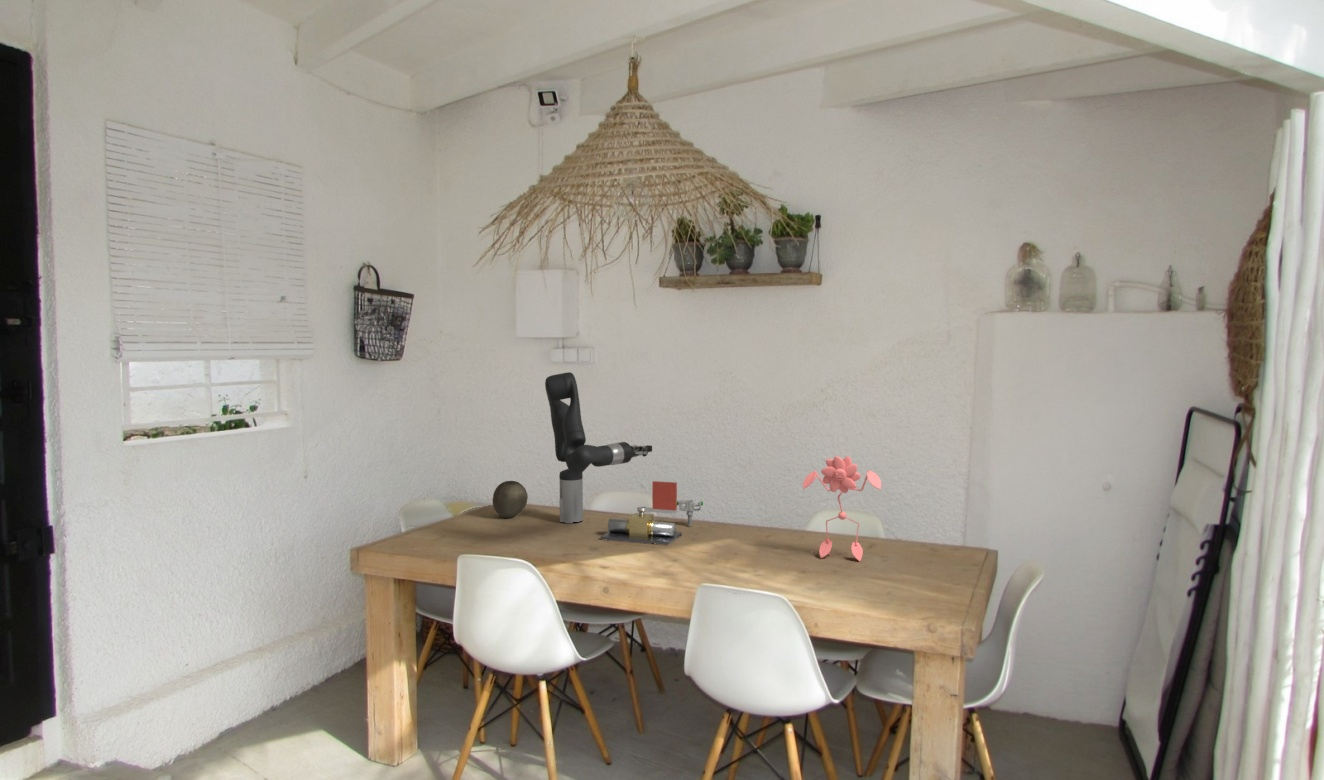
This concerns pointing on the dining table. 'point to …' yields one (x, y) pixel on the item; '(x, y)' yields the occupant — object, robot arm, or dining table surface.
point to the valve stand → (641, 530)
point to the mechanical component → (689, 508)
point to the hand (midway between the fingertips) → (650, 448)
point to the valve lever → (662, 498)
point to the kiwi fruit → (509, 499)
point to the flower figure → (841, 478)
